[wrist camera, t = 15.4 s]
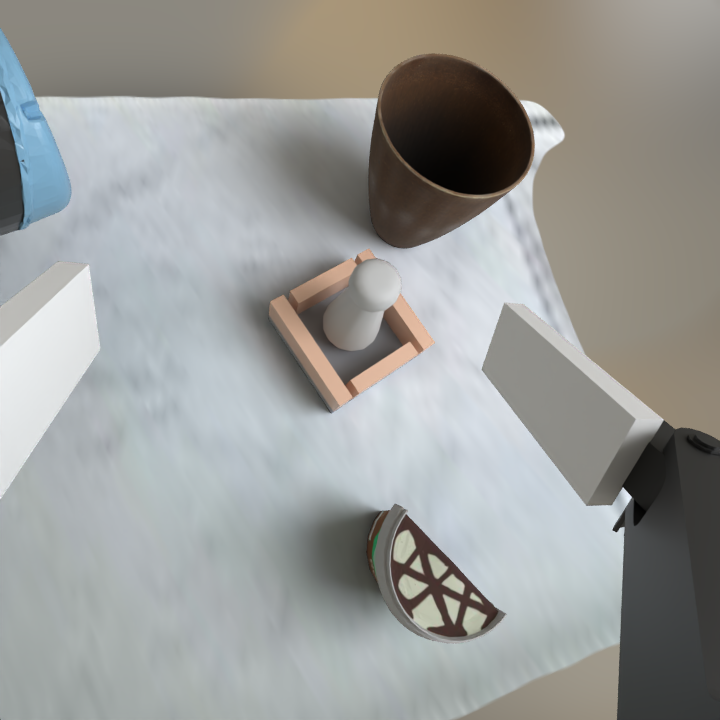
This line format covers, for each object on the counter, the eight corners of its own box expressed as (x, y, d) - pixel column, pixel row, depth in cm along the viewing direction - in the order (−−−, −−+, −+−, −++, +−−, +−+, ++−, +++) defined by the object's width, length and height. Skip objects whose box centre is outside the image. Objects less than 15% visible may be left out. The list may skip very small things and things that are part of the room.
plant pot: (464, 190, 58) (540, 87, 43) (451, 292, 53) (530, 218, 38) (354, 153, 55) (393, 30, 40) (329, 258, 51) (363, 163, 36)
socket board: (268, 318, 47) (270, 301, 43) (358, 268, 51) (369, 248, 47) (331, 413, 46) (340, 406, 42) (418, 354, 50) (435, 342, 46)
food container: (327, 548, 43) (349, 567, 33) (370, 500, 45) (402, 504, 35) (416, 643, 42) (464, 690, 33) (456, 590, 44) (512, 619, 35)
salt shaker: (365, 302, 49) (404, 242, 37) (378, 351, 48) (422, 306, 35) (313, 309, 47) (336, 249, 35) (325, 361, 46) (353, 317, 34)
